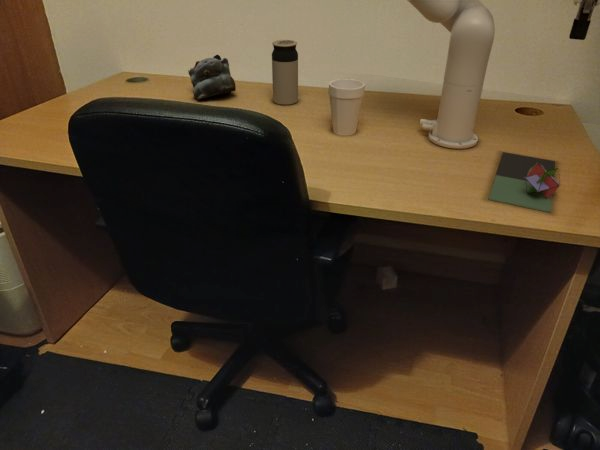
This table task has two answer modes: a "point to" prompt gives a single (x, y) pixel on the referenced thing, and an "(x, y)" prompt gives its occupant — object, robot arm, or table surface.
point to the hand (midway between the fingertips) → (576, 38)
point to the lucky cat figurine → (211, 77)
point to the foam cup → (345, 104)
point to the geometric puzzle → (542, 180)
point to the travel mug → (285, 72)
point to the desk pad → (519, 182)
